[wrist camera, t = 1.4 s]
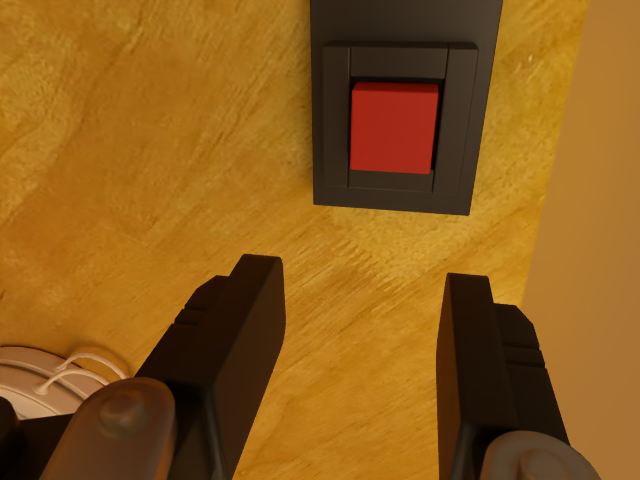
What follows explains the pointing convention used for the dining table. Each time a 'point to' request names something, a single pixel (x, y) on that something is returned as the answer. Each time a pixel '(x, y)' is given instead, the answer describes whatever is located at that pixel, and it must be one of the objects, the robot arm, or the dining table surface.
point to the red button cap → (393, 126)
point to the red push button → (401, 67)
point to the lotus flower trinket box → (47, 381)
